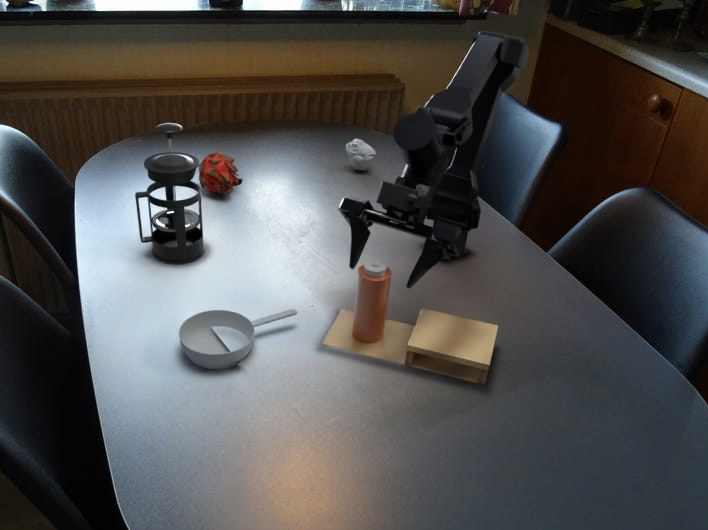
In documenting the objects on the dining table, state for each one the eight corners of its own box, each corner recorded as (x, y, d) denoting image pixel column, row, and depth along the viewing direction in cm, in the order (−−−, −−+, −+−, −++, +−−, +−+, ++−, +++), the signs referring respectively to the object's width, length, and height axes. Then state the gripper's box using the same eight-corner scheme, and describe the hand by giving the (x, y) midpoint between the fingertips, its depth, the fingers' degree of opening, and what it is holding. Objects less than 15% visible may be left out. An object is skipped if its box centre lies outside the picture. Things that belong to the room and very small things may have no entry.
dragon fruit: (214, 184, 149) (229, 215, 141) (183, 167, 143) (196, 198, 136) (237, 154, 146) (253, 184, 138) (206, 136, 140) (221, 165, 133)
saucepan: (170, 338, 100) (168, 317, 98) (281, 312, 107) (281, 291, 105) (194, 382, 92) (192, 360, 90) (311, 350, 100) (312, 329, 97)
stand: (321, 348, 100) (323, 324, 98) (341, 313, 108) (343, 289, 105) (483, 389, 94) (489, 364, 92) (492, 349, 102) (498, 325, 100)
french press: (202, 235, 126) (196, 114, 113) (213, 260, 119) (208, 133, 106) (138, 243, 123) (124, 118, 110) (145, 269, 116) (131, 139, 102)
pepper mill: (371, 321, 105) (379, 251, 98) (389, 337, 102) (399, 266, 94) (345, 329, 103) (352, 258, 95) (363, 347, 99) (372, 274, 92)
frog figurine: (345, 163, 159) (347, 134, 155) (375, 166, 159) (378, 137, 155) (342, 172, 154) (345, 143, 150) (373, 176, 154) (376, 146, 150)
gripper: (349, 141, 96) (305, 240, 94) (473, 173, 89) (429, 280, 87) (368, 176, 106) (329, 265, 105) (481, 207, 99) (441, 303, 98)
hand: (379, 277), depth 98 cm, fingers open, 9 cm apart
